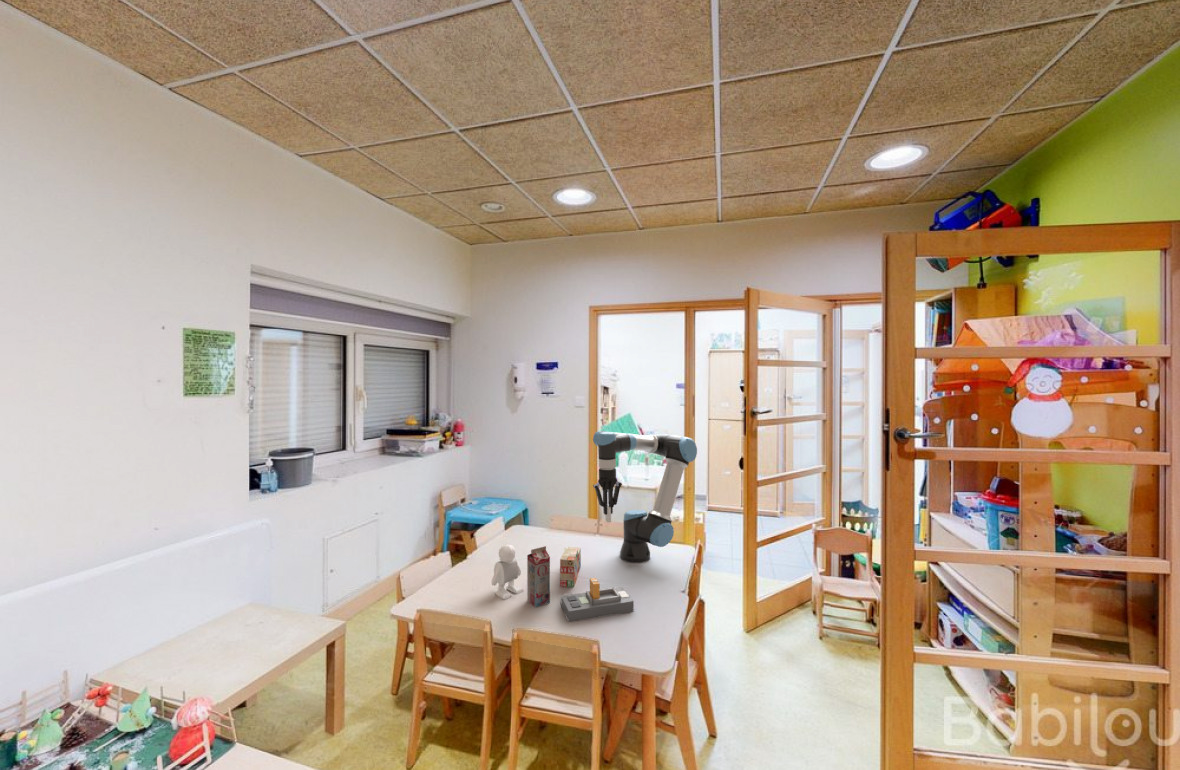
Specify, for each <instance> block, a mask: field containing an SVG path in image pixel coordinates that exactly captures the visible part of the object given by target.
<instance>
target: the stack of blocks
mask: <svg viewBox="0 0 1180 770" xmlns="http://www.w3.org/2000/svg"><path fill="white" fill-rule="evenodd" d="M581 549H582V548H581V547H571V546H568V547H567V548H564V550H563V552H562V554H561V557H560V559H559V576H560V577H559V579H560V580H559V587H561V588H562V587H565V588H575V585H576V583H577V580H578V576H579V573H580V570H581V565H582V564H581V563H582V556H581V555H582V554H581Z"/></svg>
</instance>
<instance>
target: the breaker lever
mask: <svg viewBox="0 0 1180 770" xmlns="http://www.w3.org/2000/svg"><path fill="white" fill-rule="evenodd" d="M600 589H601V588H600V582H599V580H598V579H597V578H596V577H593V578H589V591H590V595H591V597H592V598H593V599H598V598H600Z"/></svg>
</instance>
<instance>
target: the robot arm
mask: <svg viewBox="0 0 1180 770" xmlns="http://www.w3.org/2000/svg"><path fill="white" fill-rule="evenodd" d="M592 440H593V441H592V442H593V443H594V445H595V446H596V447H597V448H598V454H597V455H598V480H597V483H595V484H593V485H592V487H593V489H594V490H595V493H596V497H597V501H598V505H599V506H600V507H601V508H603V510H602V511H603V514H604V515H605V522H606V523H612V514H614V511H613V508H614V506H616V505H617V504H618V500H619V494H620V490H621V487H622V485H623V483H622V482H621V481H618V479H617V461H616V460H617V457H616V456H617V453H623V452H630V451H642V452H643V451H645V452H647V453H649V454H653V455H654V454H655V455H658V456H660V457H661V456H662V457H665V461H666V465H665V469H664V472H663V476H662V477H661V478H662V480H661V482H660V485H659V489H658V493H657V495H656V498H655V502H654V505H653V508H652V510H651V511H649V512H647V511H646V510H644V509H631V510H627V511H625V513H624V514H623V541H622V542H623V543H622V545H621V548H620V551H619V557H620V558H621V560H623V561H625V562H629V563H637V564H639V563H645V562H647V561H649V560H650V559H651V550H650V548H649V547H650V546H649V545H648V544H650V545H652V546H656V547H659V548H663V547H666V546H667V545H668V544H670V542H671V541H672V540H673V537H674V533H675V531H674V526H673V525H672V522H673V520H672V518H671V514H672V511H673V507H674V504H675V500H676V496H677V494H678V491H679V488H680V483H681V481H682V477H683V473H684V470H685V469H686V468H688V467H689V465H690V464H689V463H692V462H694V461H695V460H696V458H697V455H698V448H697V444H696V442H695V440H694V439H693V438H691V437H687V436H681V435H672V434H647V435H641V434H640V435H639V434H633V433H625V432H623V433H622V432H613V431H605V430H598V431H596V432H594V433H593V436H592ZM600 488H601V490H602V493H601V490H600Z"/></svg>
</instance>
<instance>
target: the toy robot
mask: <svg viewBox="0 0 1180 770" xmlns="http://www.w3.org/2000/svg"><path fill="white" fill-rule="evenodd" d="M498 557H499V561H497V562H495V564H494V568H493V577H492V579H491V585H492V586H494V587H495V586H497V584H498V588H497V590H496V591H494V595H496V596H498V597H499V598H501V600H506V599H508V598H510V597H512V596H511V593H510V592H512V593H514V594H516V595H517V594H520V593H522V592H524V588H522V587H519V585H516V584H515V580H517V579H518V578H519V576H521V574H522V570H521V568H520V567H519V565H518V561H517V560H516V549H515V547H514V546H513V545H511V544H508V543H506V544H504V545H502V546H501V547H500V548H499V550H498ZM507 583H508V585H507V586H506V584H507ZM505 586H506V589H507V590H506V589H505ZM509 591H510V592H509Z"/></svg>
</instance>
